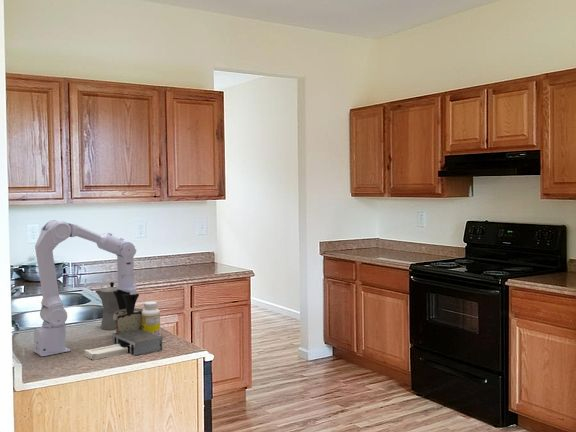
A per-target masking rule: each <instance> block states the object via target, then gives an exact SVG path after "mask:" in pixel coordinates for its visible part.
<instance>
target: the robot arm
mask: <svg viewBox="0 0 576 432" xmlns="http://www.w3.org/2000/svg"><path fill="white" fill-rule="evenodd" d="M74 237H79V238H82V239H84V240H87V241H89V242H92V243H95V244H96V246H97V248H99V249H100V250H103V251H106V252H109V253H111V254H113V255H115V256H116V260H117V262H116V267H117V268H116V270H117V271H116V272H117V273H116V274H117V280H116V281H117V283H116V284H115V287H116V289H117V291H113V293H114V295H115V297H116V299H117V303H118V307H119V310H122V309H125V308H126V311H127V314H130V313H133V312H134V308H135V307H136V304H137V300H138V298H139V297H140V294H139V293H137V289H136V288H138V285H137V284H135V281H134V280H135V279H134V278H135V277H134V274H135V273H134V272H135V271H134V270H135V269H134V267H135V265H134V257H135V256H136V253H137V248H136V246H135V245H134V243H133V242H131V241H130V242H129V241H125V239H124V238H122V237H120V238H118V237H116V236H113V233H111V232H107V233H106V232H104V233H101V234H99V233H97V232H95V231H92V230H89V229H88V228H86V227H83V226H81V225H78V224H74V223H69V222H67V221H62V220H60V221H59V220H55V219H54V220H49V221H47V222H46V223H45V224H44V225H43V226H42V227H41V229H40V233H39V235H38V238H37V240H36V243H35V245H34V246H35V247H34V249H35V255H36V256H35V257H36V262H37V268H38V275H39V281H40V282H39V283H40V288H41V294H42V299H41V302H40V304H41V308H40V310H39V311H40V312H39V316H40V319H41V320H43V321H42V324H41V326H40V327H36V328H35V329H34V334H33V339H34V342H33V344H34V350H33V352H34V353H35V354H37V355H38V356H40V357H46V356H51V355H57V354H62V353H65V352H67V353H68V352H71V348H68V347H66V346H67V343H66V342H67V341H66V337H67V335H66V321H67V319H68V312H67V311H66V309H65V308H64V303H63V302H62V299H61V297H60V294H59V286H58V279H57V278H58V277H57V272H56V271H57V270H56V266H55V260H54V252H53V251H54V249H55V248H57V246H58V245H59V244H61V243H62V242H64V241H66V240H67V239H68V238H74Z"/></svg>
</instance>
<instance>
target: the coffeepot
mask: <svg viewBox="0 0 576 432" xmlns="http://www.w3.org/2000/svg"><path fill="white" fill-rule="evenodd" d="M114 284H115V282H113V281H111V282H110V283H109V287H106V288H105V287H104V288H100V289H96V290H95V291H94V292H95V293H97V295H98V297H99V298H100V300H101V302H102V303H101V304H102V308H103V312H102V318H101V324H100V327H101V328H100V329H101V330H103V331H116V325H115V320H113V315H114V313H115V312H116V311H118V310H119V307H118V303H117V299H116V297H115V295H114V293H113V291H117V289H116V286H114ZM125 309H126V308H125Z"/></svg>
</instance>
